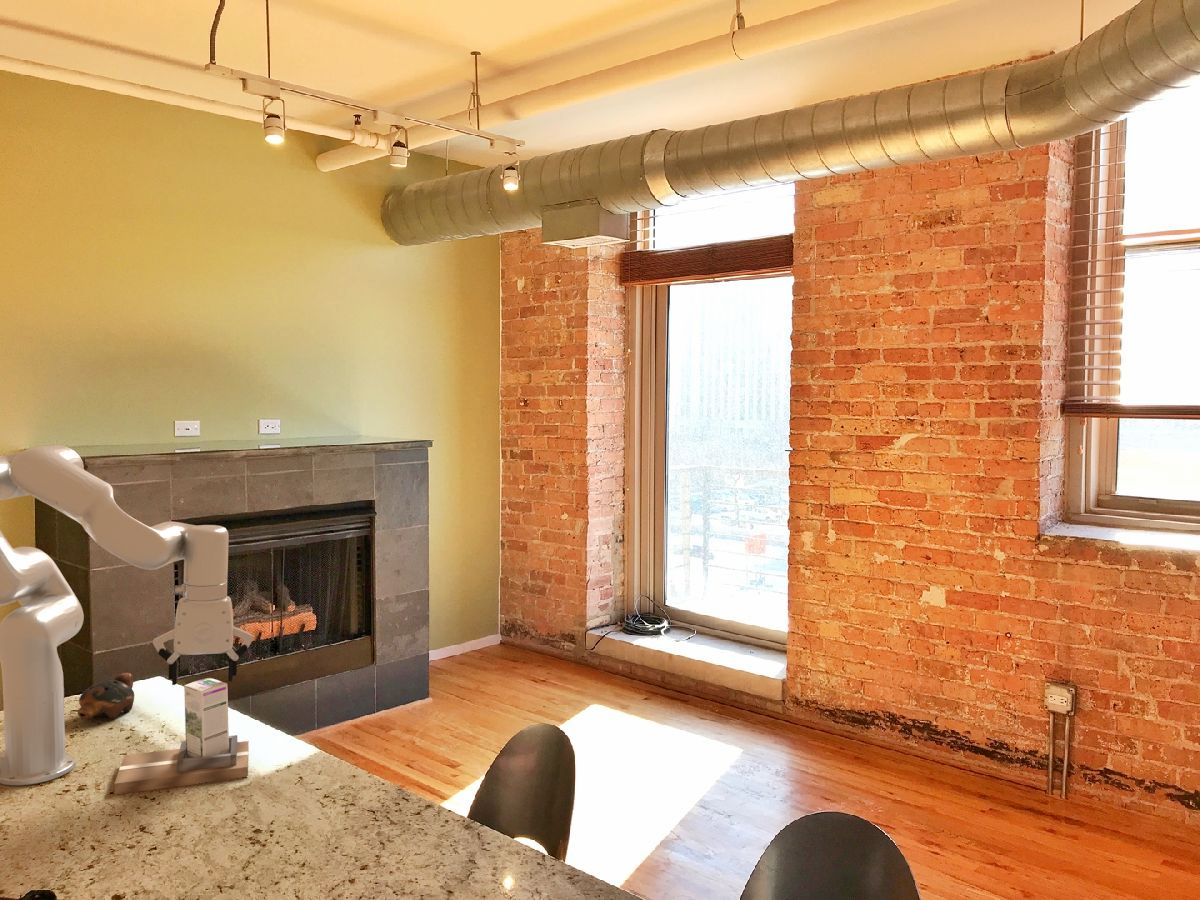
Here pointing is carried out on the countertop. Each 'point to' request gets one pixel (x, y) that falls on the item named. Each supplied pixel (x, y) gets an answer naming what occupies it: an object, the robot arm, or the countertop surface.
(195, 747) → the syrup box
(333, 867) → the countertop surface
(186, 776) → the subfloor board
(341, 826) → the countertop surface
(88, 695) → the decorative turtle
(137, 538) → the robot arm
